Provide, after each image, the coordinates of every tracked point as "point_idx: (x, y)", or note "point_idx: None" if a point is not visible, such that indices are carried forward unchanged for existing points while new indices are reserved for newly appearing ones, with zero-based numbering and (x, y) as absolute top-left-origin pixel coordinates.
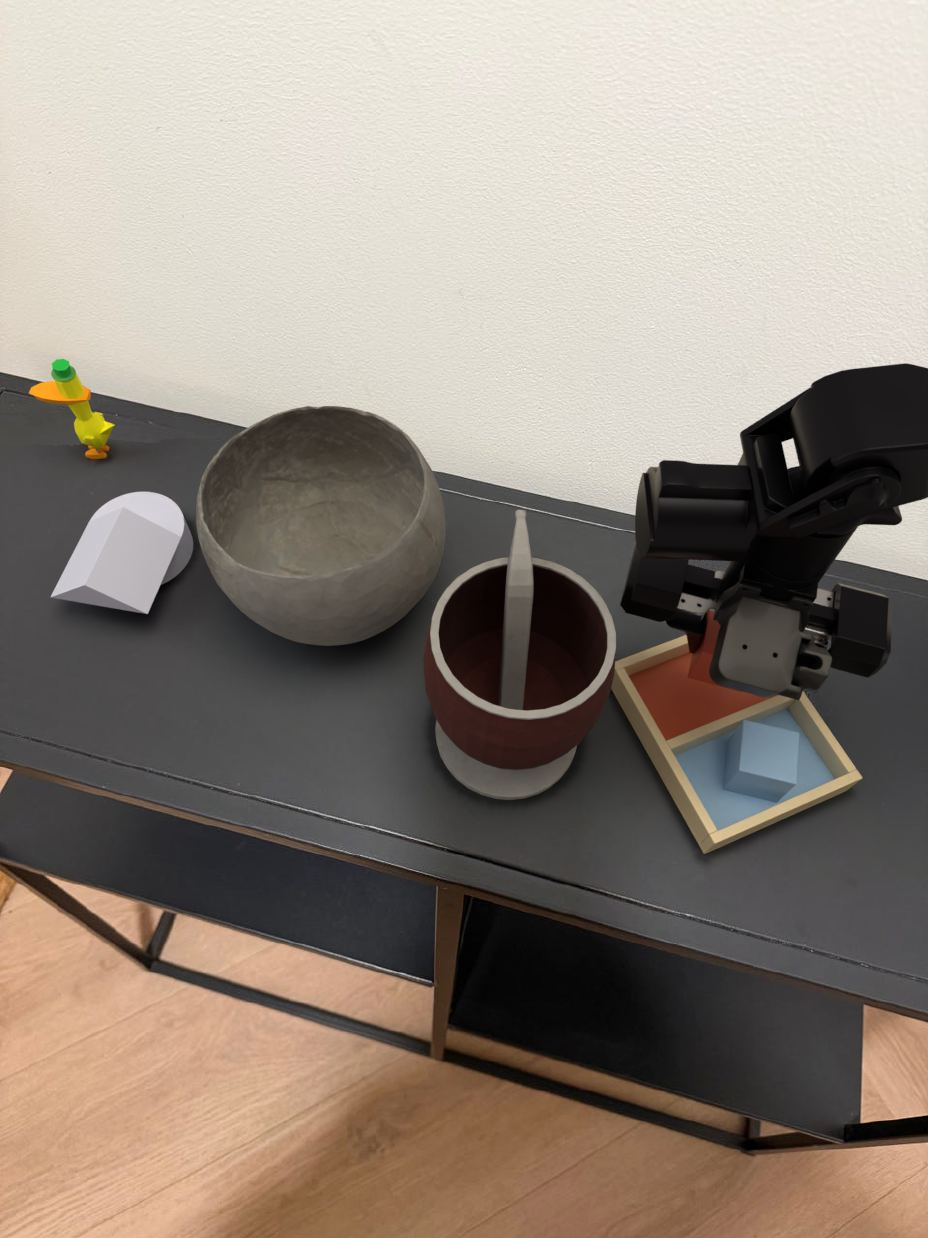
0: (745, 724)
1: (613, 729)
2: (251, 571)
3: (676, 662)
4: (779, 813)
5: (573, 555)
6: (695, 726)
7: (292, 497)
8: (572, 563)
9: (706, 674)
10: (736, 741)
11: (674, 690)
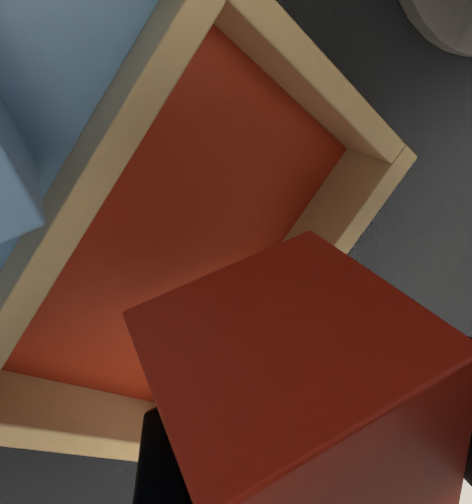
0: (25, 210)
1: (309, 17)
2: None
3: None
4: None
5: (445, 309)
6: (141, 147)
7: None
8: (445, 298)
9: (297, 277)
10: (9, 138)
11: (231, 205)
